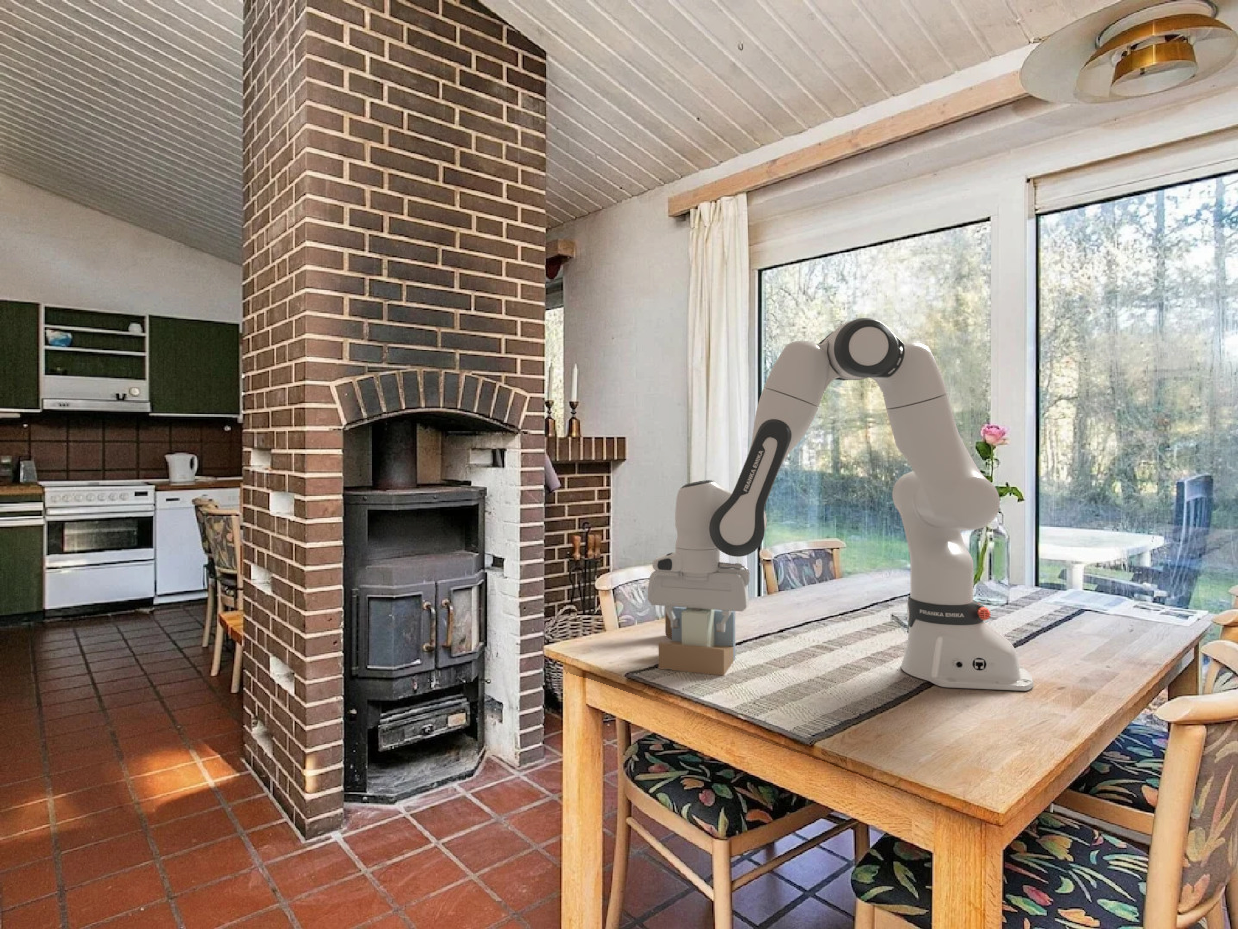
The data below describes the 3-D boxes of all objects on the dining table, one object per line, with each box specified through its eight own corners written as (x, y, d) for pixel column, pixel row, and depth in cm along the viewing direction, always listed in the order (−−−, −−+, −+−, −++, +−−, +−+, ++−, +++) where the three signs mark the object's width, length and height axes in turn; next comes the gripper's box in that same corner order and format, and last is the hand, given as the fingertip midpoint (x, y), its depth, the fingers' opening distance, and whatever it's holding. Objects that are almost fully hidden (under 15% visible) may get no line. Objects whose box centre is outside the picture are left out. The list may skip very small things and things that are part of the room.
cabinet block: (714, 645, 147) (714, 600, 147) (706, 655, 141) (706, 608, 140) (690, 643, 149) (690, 599, 149) (681, 652, 143) (681, 606, 142)
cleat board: (735, 658, 148) (735, 610, 148) (723, 675, 138) (723, 623, 137) (674, 652, 153) (674, 605, 152) (658, 668, 142) (658, 618, 142)
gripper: (752, 561, 144) (752, 630, 144) (654, 556, 151) (654, 621, 151) (746, 566, 138) (746, 638, 138) (644, 561, 145) (645, 629, 145)
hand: (697, 629), depth 145 cm, fingers open, 8 cm apart
